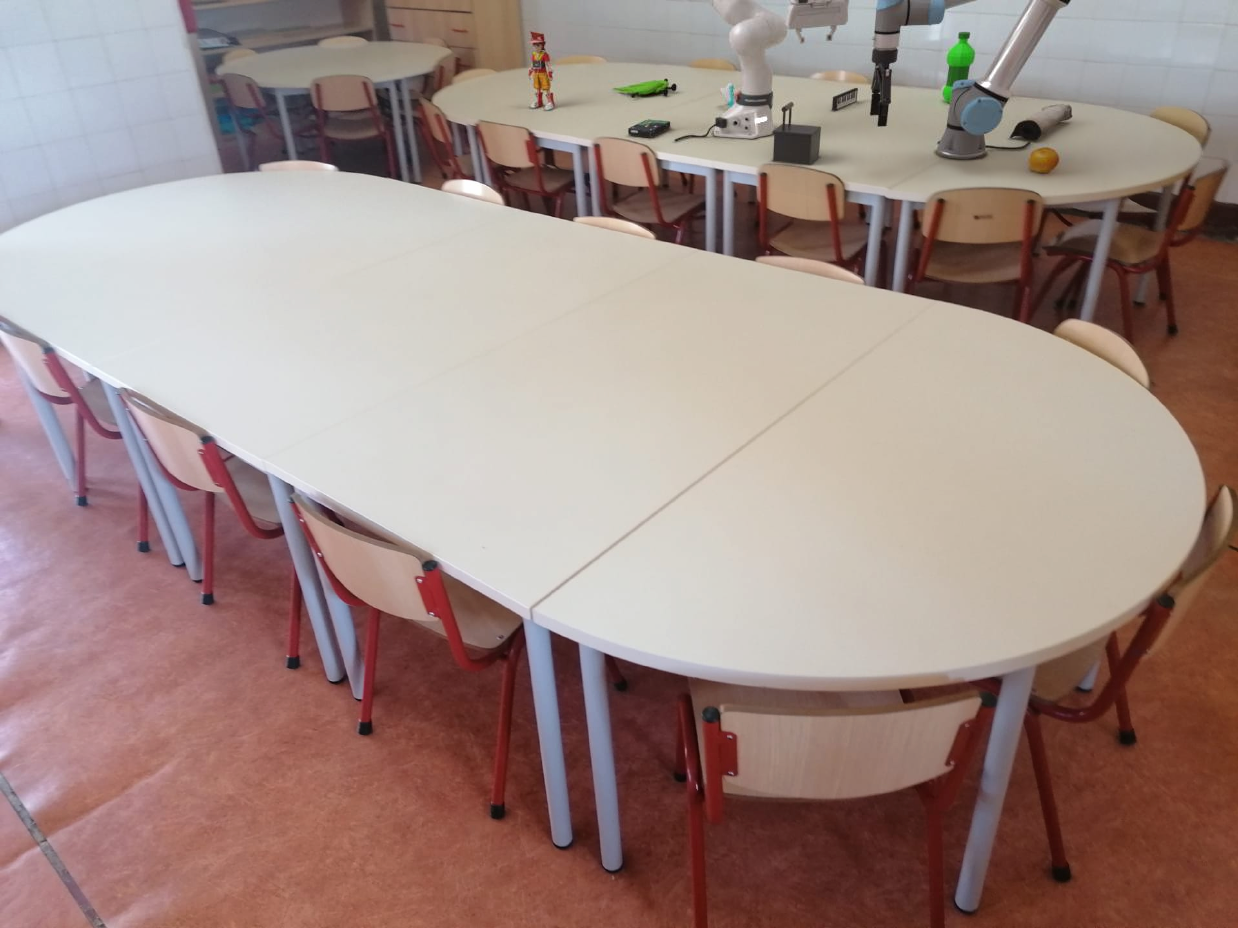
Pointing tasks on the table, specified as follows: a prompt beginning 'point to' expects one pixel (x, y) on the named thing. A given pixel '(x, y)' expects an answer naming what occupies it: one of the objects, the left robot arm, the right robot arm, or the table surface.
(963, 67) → the plastic bottle
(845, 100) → the midi keyboard
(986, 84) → the right robot arm
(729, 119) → the left robot arm
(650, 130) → the disk drive
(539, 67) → the toy
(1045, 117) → the rolled mat
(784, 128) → the lid
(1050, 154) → the fruit
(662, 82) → the toy
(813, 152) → the chest
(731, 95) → the anatomical model
